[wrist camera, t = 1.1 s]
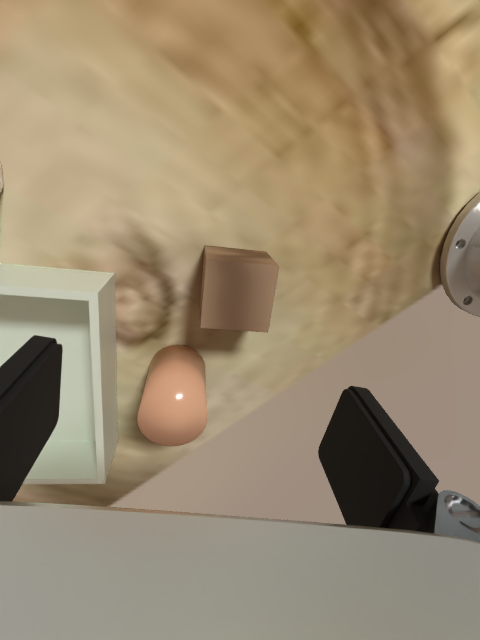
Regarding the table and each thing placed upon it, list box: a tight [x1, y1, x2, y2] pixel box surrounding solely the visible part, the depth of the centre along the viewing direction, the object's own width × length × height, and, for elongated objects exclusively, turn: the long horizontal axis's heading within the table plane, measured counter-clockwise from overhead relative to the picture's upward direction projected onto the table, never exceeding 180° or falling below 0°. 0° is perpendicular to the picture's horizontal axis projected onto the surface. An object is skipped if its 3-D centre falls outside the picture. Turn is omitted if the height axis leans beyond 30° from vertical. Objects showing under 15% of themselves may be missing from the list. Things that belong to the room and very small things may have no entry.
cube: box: [200, 245, 279, 332], centre depth 26 cm, size 5×5×5 cm
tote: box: [0, 263, 118, 484], centre depth 27 cm, size 13×17×5 cm
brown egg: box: [137, 345, 207, 446], centre depth 28 cm, size 5×5×7 cm
